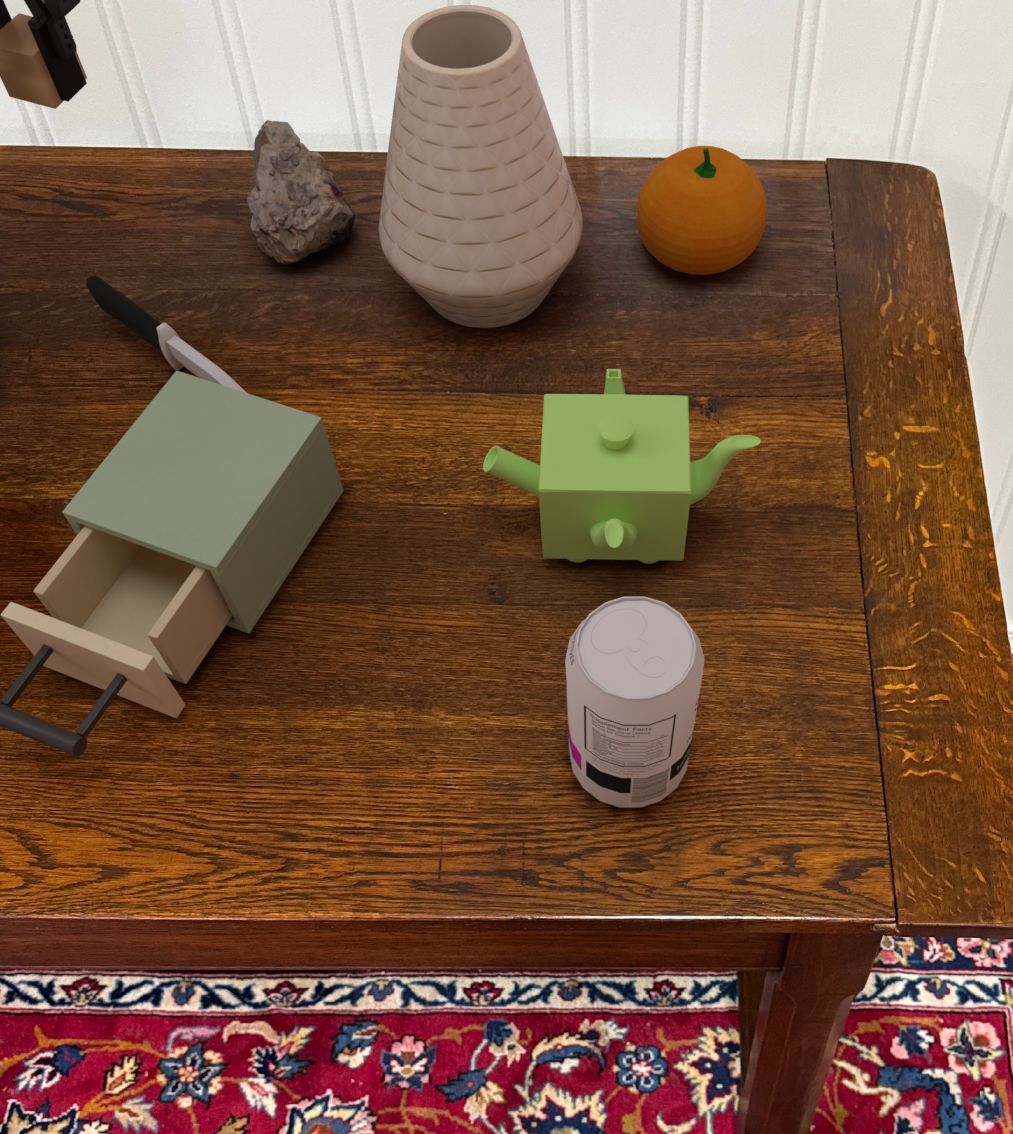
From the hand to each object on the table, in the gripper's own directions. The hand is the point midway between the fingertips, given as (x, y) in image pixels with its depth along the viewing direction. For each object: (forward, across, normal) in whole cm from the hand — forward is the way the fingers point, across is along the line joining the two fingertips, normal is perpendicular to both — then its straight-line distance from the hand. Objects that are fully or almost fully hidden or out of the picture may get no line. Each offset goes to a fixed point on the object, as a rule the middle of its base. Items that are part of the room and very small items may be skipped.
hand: (46, 83), depth 95 cm
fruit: (+14, +53, +17) cm, 57 cm away
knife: (+15, +18, -14) cm, 27 cm away
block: (0, 0, 0) cm, 0 cm away
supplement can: (+14, +65, -34) cm, 75 cm away
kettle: (+14, +57, -16) cm, 61 cm away
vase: (+14, +37, +5) cm, 40 cm away
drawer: (+14, +29, -39) cm, 51 cm away
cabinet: (+14, +29, -27) cm, 42 cm away
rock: (+14, +18, +5) cm, 23 cm away
